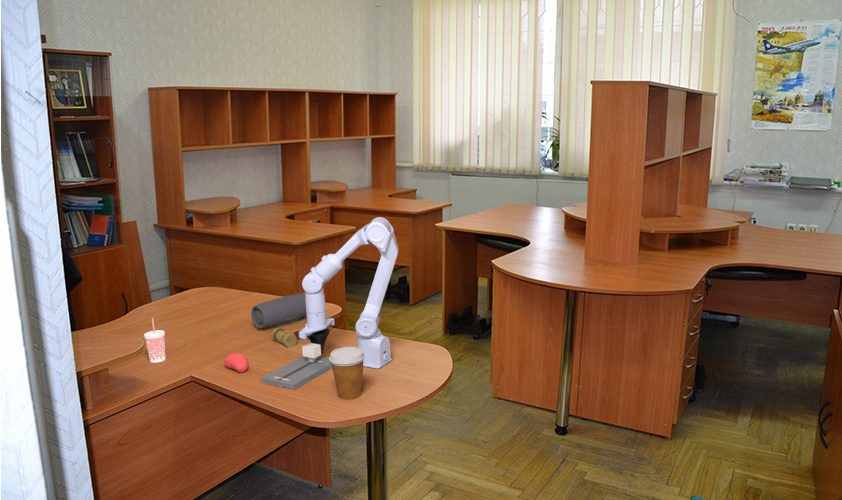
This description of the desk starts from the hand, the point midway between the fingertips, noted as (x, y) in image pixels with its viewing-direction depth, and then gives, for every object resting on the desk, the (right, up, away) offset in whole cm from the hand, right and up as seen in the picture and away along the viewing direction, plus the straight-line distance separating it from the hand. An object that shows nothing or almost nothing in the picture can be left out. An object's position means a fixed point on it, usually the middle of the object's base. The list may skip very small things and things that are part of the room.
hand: (319, 353), depth 197 cm
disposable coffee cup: (+12, -7, -23) cm, 27 cm away
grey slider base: (-4, -5, -7) cm, 10 cm away
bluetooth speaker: (-19, +4, +41) cm, 46 cm away
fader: (-2, -2, -3) cm, 4 cm away
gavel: (-9, +1, +25) cm, 27 cm away
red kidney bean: (-24, -5, -2) cm, 25 cm away
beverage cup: (-53, -4, +9) cm, 54 cm away
